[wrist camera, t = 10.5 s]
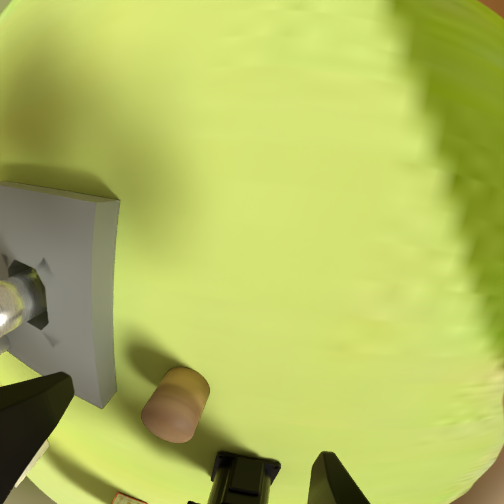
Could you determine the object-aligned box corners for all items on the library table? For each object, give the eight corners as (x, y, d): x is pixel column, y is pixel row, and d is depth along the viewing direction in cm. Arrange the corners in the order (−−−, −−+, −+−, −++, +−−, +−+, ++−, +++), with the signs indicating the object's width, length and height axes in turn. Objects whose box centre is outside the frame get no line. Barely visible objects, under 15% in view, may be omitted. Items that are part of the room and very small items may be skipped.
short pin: (207, 408, 22) (191, 448, 17) (164, 394, 22) (142, 431, 17) (212, 375, 21) (195, 416, 16) (165, 360, 21) (139, 397, 17)
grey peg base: (116, 391, 23) (69, 450, 14) (14, 334, 24) (-35, 365, 15) (120, 200, 19) (27, 212, 10) (6, 181, 20) (-62, 187, 11)
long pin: (63, 310, 22) (-4, 352, 13) (37, 297, 22) (-27, 331, 13) (61, 270, 21) (-15, 304, 12) (34, 259, 21) (-37, 286, 13)
